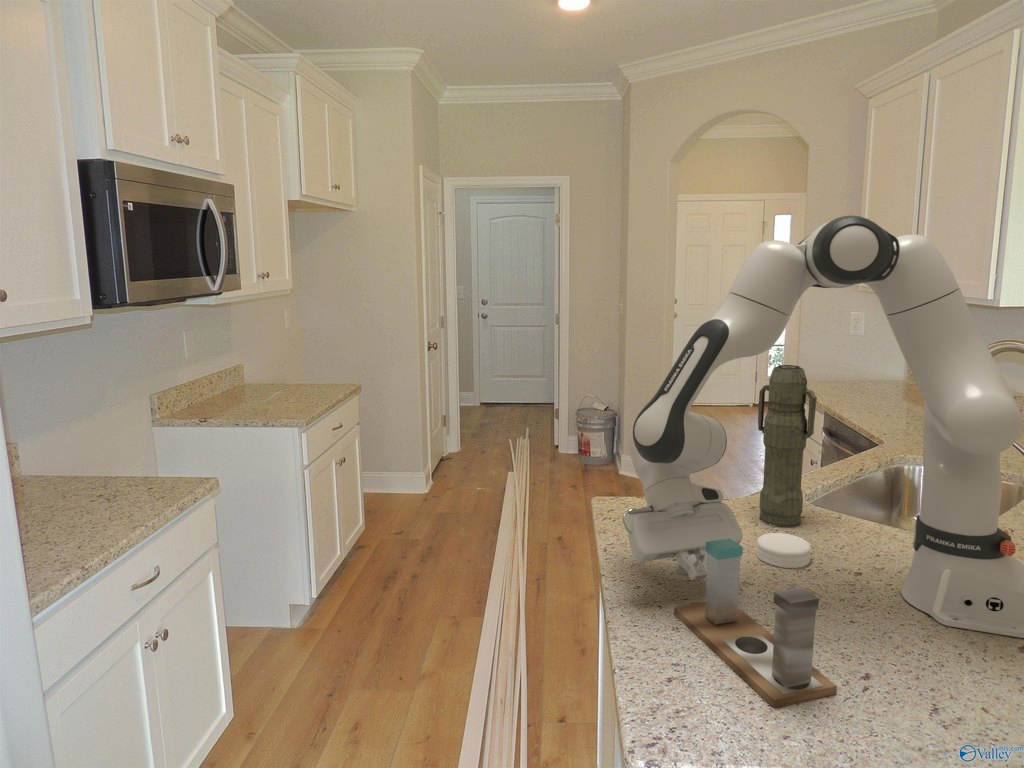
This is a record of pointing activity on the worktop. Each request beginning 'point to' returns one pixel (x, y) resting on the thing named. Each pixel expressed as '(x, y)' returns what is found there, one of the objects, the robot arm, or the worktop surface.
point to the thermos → (784, 444)
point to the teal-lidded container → (722, 580)
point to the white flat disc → (783, 550)
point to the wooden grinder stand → (768, 648)
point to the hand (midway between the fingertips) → (700, 578)
